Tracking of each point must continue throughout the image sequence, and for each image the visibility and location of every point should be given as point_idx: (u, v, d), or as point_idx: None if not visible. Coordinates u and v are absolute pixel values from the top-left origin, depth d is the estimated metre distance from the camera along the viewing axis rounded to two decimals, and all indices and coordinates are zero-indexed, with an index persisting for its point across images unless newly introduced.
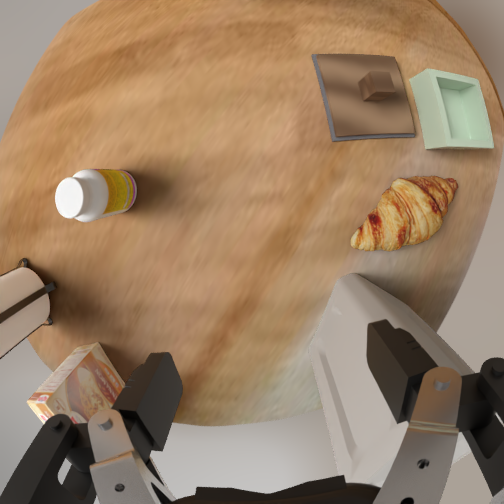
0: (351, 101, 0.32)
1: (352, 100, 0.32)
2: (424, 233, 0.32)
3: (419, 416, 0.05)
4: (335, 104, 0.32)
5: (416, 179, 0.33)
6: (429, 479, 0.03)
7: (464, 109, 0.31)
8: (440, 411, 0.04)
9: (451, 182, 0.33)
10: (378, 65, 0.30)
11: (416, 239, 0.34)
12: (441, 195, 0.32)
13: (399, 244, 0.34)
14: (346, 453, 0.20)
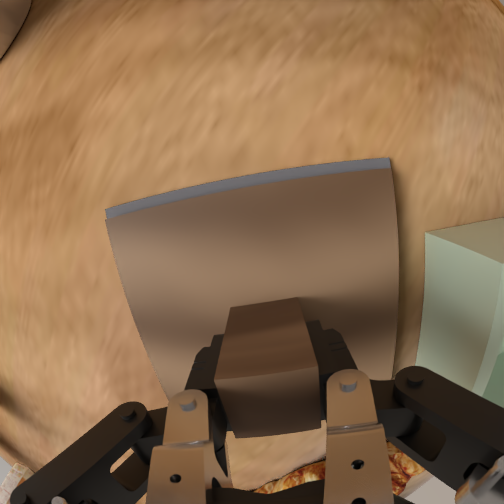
0: None
1: None
2: None
3: (335, 421, 0.05)
4: (166, 370, 0.13)
5: None
6: (371, 476, 0.03)
7: None
8: (355, 411, 0.05)
9: None
10: (319, 222, 0.11)
11: None
12: (394, 491, 0.13)
13: None
14: None
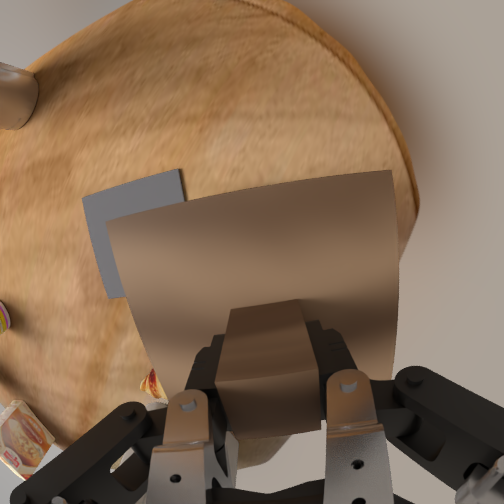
0: None
1: None
2: None
3: (335, 421, 0.05)
4: (166, 372, 0.13)
5: None
6: (371, 476, 0.03)
7: None
8: (356, 411, 0.05)
9: None
10: (319, 224, 0.11)
11: None
12: None
13: None
14: None
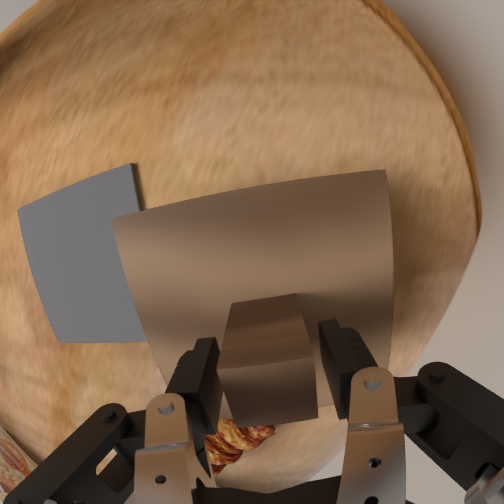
0: None
1: None
2: None
3: (357, 418, 0.05)
4: (168, 365, 0.14)
5: None
6: (386, 475, 0.03)
7: None
8: (378, 410, 0.05)
9: (256, 430, 0.20)
10: (316, 221, 0.12)
11: None
12: (213, 454, 0.19)
13: None
14: None
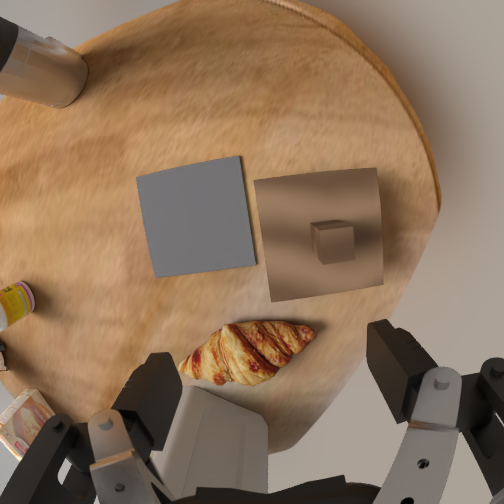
0: (295, 254, 0.28)
1: (297, 252, 0.28)
2: (244, 383, 0.34)
3: (419, 416, 0.05)
4: (272, 260, 0.28)
5: (249, 329, 0.35)
6: (429, 479, 0.03)
7: None
8: (440, 411, 0.04)
9: (304, 333, 0.35)
10: (346, 187, 0.26)
11: (240, 382, 0.36)
12: (275, 351, 0.34)
13: (217, 384, 0.36)
14: None
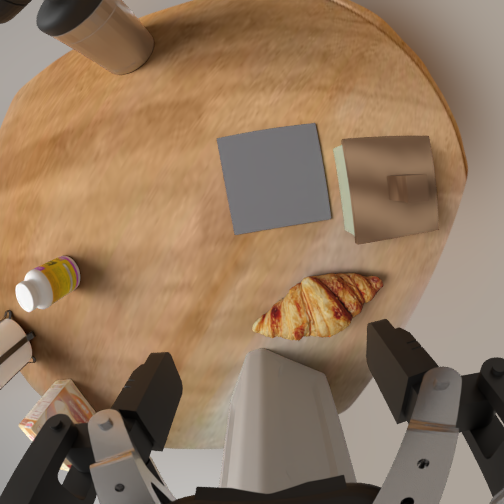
0: (376, 201, 0.31)
1: (378, 199, 0.31)
2: (324, 333, 0.37)
3: (419, 416, 0.05)
4: (359, 206, 0.31)
5: (329, 279, 0.38)
6: (429, 479, 0.03)
7: None
8: (440, 411, 0.04)
9: (374, 282, 0.38)
10: (410, 149, 0.29)
11: (317, 335, 0.39)
12: (353, 298, 0.37)
13: (296, 338, 0.39)
14: None
